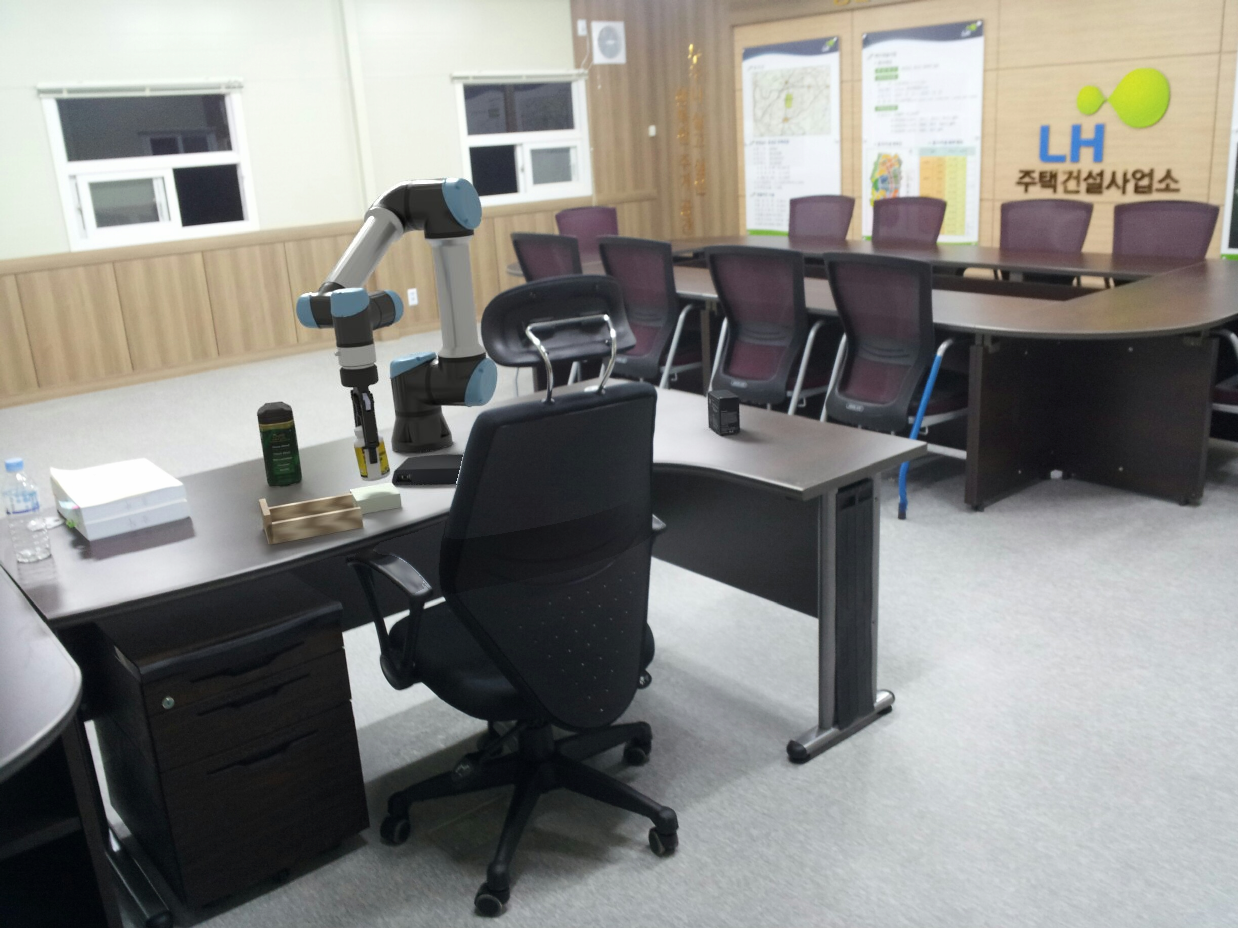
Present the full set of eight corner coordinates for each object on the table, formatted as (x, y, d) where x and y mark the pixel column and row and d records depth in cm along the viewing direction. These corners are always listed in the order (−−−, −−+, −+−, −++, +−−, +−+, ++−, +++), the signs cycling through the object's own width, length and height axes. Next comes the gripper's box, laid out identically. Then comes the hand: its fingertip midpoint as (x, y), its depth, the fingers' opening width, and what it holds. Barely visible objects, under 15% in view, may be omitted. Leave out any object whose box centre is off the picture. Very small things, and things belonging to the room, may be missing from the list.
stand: (393, 495, 235) (391, 482, 234) (401, 506, 226) (400, 493, 226) (351, 502, 231) (349, 489, 230) (358, 514, 223) (356, 501, 222)
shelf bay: (353, 511, 226) (350, 483, 224) (363, 527, 216) (359, 498, 214) (263, 527, 219) (258, 499, 218) (268, 544, 209) (264, 515, 207)
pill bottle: (367, 484, 223) (355, 433, 220) (357, 478, 228) (345, 428, 225) (395, 475, 226) (384, 425, 223) (384, 469, 231) (373, 420, 228)
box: (741, 433, 265) (740, 396, 263) (719, 436, 264) (718, 398, 262) (728, 425, 274) (727, 388, 271) (707, 427, 273) (706, 391, 270)
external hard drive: (408, 470, 254) (406, 454, 253) (488, 468, 251) (486, 451, 250) (390, 488, 242) (388, 470, 240) (474, 486, 239) (472, 468, 238)
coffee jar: (304, 485, 246) (292, 406, 241) (268, 490, 244) (255, 410, 238) (302, 474, 255) (290, 397, 249) (267, 479, 253) (255, 401, 247)
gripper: (332, 360, 228) (346, 465, 234) (346, 375, 210) (361, 488, 217) (367, 356, 230) (381, 460, 237) (385, 370, 213) (399, 482, 220)
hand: (371, 473), depth 227 cm, fingers closed on pill bottle, 6 cm apart
